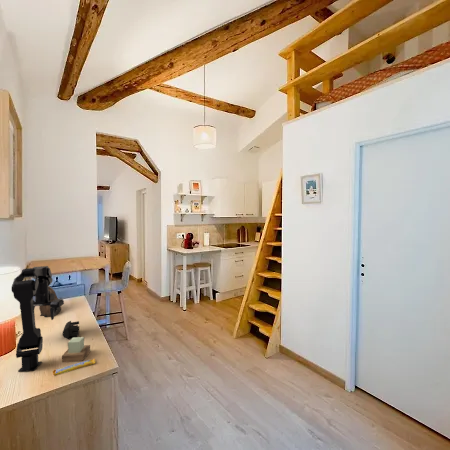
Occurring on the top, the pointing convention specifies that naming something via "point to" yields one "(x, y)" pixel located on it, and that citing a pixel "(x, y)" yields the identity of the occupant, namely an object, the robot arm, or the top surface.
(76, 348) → the block
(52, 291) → the owl
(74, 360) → the base
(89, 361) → the candy bar
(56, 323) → the top surface
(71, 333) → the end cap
